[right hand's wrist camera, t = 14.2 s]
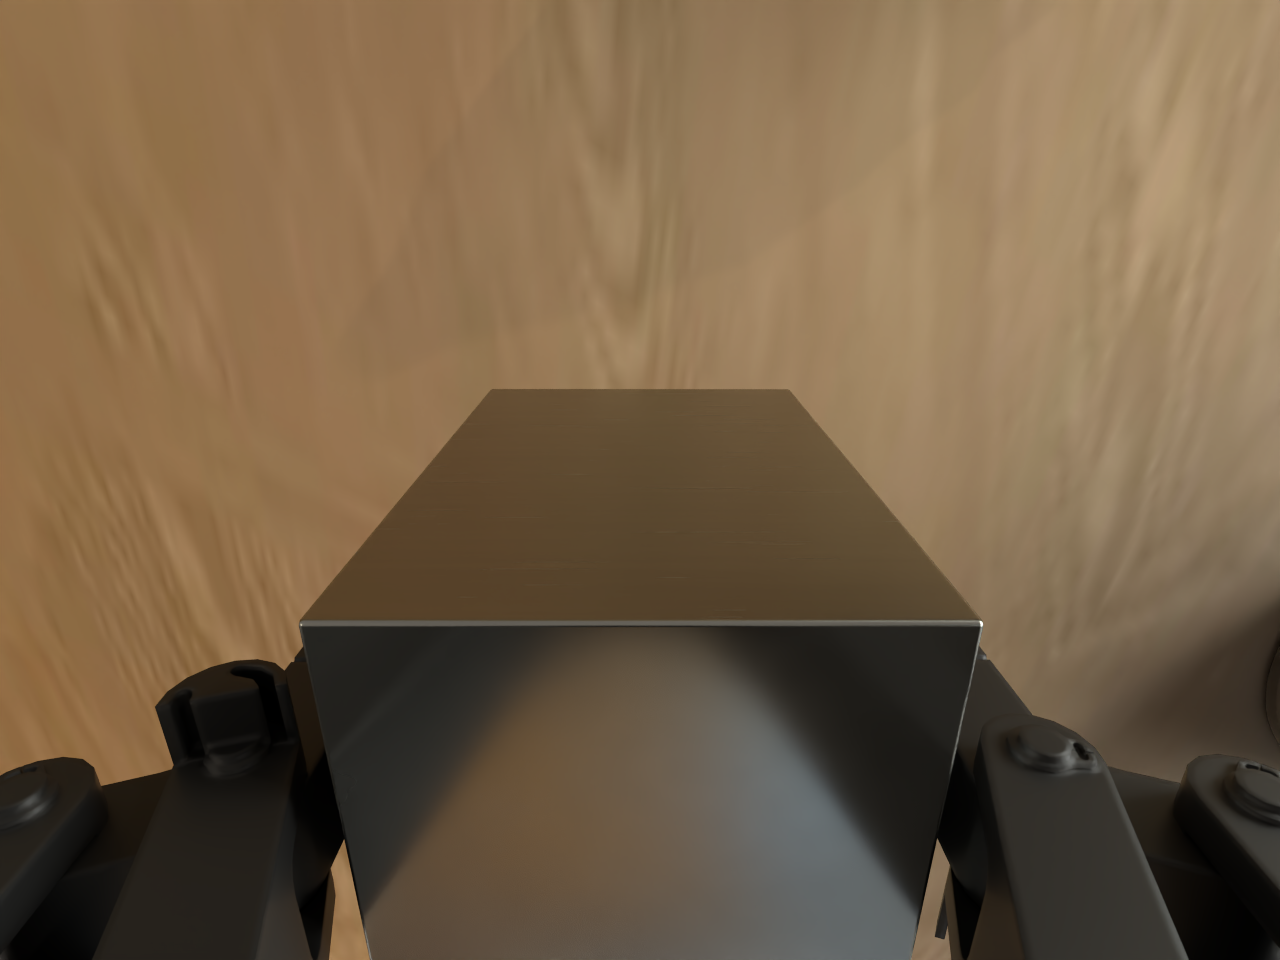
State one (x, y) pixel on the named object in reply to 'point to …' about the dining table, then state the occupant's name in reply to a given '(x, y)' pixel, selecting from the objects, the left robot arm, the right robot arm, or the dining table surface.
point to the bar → (640, 690)
